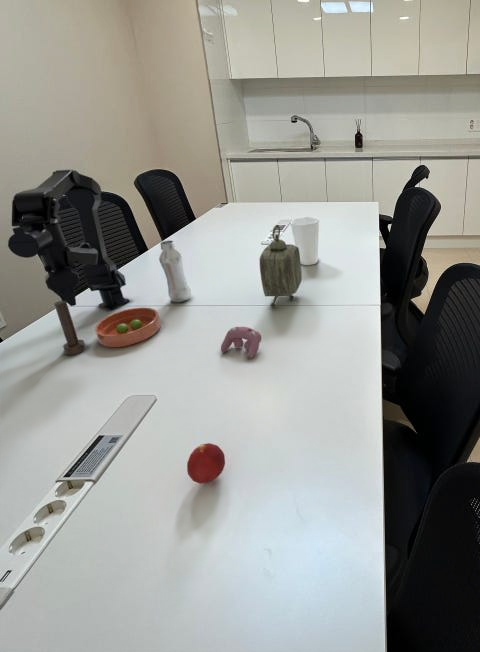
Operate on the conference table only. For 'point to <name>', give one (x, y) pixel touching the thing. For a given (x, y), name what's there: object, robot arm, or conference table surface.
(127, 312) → the bowl
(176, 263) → the plastic bottle
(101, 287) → the robot arm
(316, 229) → the cup
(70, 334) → the brown bolt
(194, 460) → the onion
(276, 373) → the conference table surface
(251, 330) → the video game controller
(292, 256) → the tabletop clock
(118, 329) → the olive
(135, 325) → the olive
